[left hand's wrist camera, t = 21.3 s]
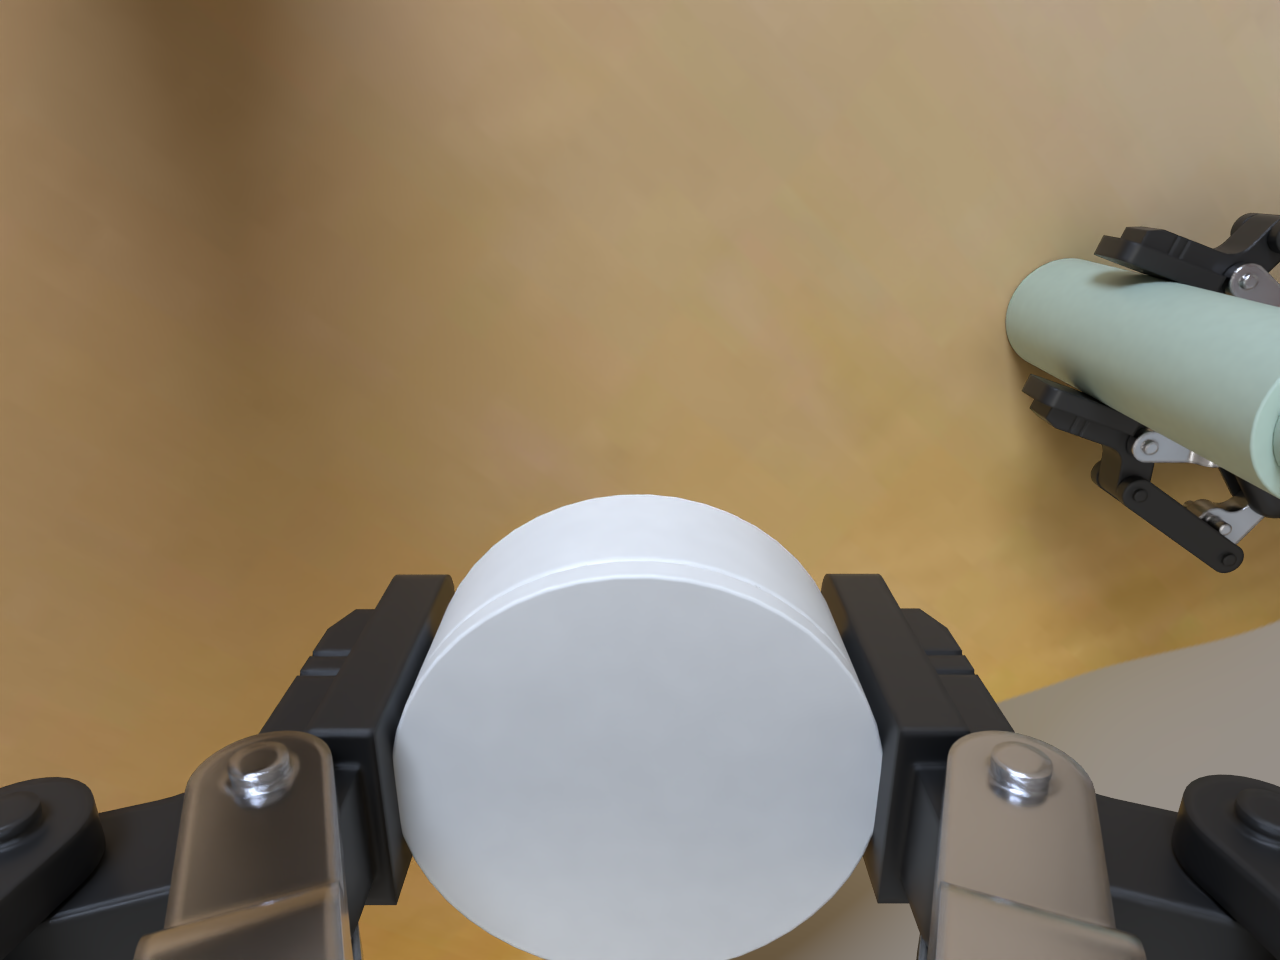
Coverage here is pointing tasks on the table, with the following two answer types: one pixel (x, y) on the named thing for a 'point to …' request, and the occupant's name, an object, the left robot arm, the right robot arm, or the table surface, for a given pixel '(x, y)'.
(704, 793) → the lid
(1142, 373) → the jar
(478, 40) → the table surface
